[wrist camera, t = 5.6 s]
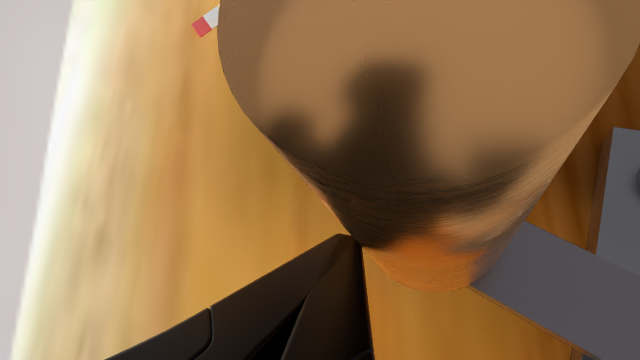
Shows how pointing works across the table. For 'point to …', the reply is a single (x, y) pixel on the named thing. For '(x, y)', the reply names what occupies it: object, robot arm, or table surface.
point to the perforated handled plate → (447, 138)
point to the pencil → (207, 22)
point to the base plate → (616, 205)
